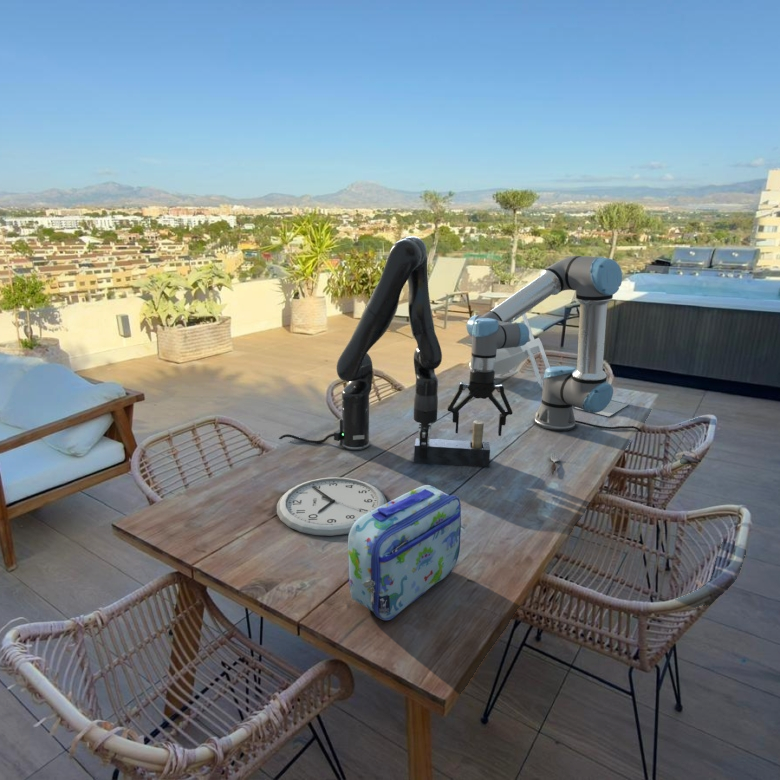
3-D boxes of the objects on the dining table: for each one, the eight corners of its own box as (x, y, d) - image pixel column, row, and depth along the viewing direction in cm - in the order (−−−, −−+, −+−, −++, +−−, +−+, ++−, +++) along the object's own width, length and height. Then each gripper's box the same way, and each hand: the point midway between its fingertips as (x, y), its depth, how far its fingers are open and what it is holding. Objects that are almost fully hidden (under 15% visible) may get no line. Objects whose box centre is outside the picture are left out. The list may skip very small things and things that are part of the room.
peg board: (487, 458, 173) (488, 442, 172) (488, 467, 167) (490, 450, 165) (415, 454, 176) (415, 437, 174) (413, 462, 170) (414, 445, 168)
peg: (480, 464, 169) (483, 424, 165) (470, 463, 169) (473, 423, 165) (480, 460, 172) (483, 420, 168) (470, 459, 172) (473, 420, 168)
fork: (547, 475, 162) (548, 469, 162) (551, 455, 176) (551, 449, 176) (556, 476, 161) (557, 470, 161) (559, 456, 176) (560, 451, 175)
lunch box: (378, 635, 98) (379, 537, 91) (341, 606, 105) (340, 513, 99) (464, 574, 115) (470, 488, 109) (427, 553, 122) (431, 471, 116)
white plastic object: (489, 418, 267) (470, 395, 242) (471, 346, 289) (451, 318, 264) (561, 394, 254) (547, 368, 230) (535, 321, 277) (521, 289, 252)
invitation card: (608, 416, 214) (573, 407, 224) (608, 416, 214) (573, 408, 224) (628, 404, 229) (594, 396, 238) (628, 405, 229) (594, 397, 238)
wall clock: (392, 527, 129) (268, 531, 127) (391, 533, 130) (269, 537, 127) (383, 473, 158) (282, 475, 155) (383, 478, 158) (282, 480, 156)
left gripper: (415, 398, 174) (414, 445, 179) (412, 413, 160) (410, 462, 165) (438, 400, 173) (436, 446, 178) (436, 414, 160) (434, 464, 165)
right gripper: (522, 367, 164) (516, 431, 170) (442, 364, 166) (439, 426, 173) (525, 374, 156) (518, 439, 163) (441, 370, 159) (438, 435, 165)
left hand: (423, 454), depth 172 cm, fingers closed on peg board, 6 cm apart
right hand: (477, 433), depth 168 cm, fingers open, 13 cm apart
